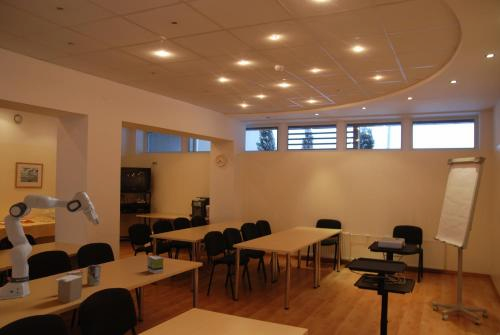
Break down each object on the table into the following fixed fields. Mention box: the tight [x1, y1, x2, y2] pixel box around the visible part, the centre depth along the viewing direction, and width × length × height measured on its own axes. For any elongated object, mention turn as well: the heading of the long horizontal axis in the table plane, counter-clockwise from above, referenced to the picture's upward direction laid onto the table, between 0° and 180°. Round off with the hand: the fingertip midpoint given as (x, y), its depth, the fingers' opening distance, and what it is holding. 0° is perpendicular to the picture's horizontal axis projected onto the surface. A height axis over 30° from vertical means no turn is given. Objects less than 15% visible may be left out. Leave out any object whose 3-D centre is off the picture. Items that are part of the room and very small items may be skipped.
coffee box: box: [86, 264, 101, 287], centre depth 334 cm, size 9×6×16 cm
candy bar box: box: [66, 270, 83, 292], centre depth 310 cm, size 11×5×16 cm, turn 141°
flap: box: [54, 275, 83, 282], centre depth 290 cm, size 16×11×1 cm
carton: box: [57, 276, 83, 304], centre depth 292 cm, size 12×11×16 cm
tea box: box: [146, 255, 164, 275], centre depth 382 cm, size 15×10×15 cm
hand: (97, 224), depth 315 cm, fingers open, 8 cm apart
